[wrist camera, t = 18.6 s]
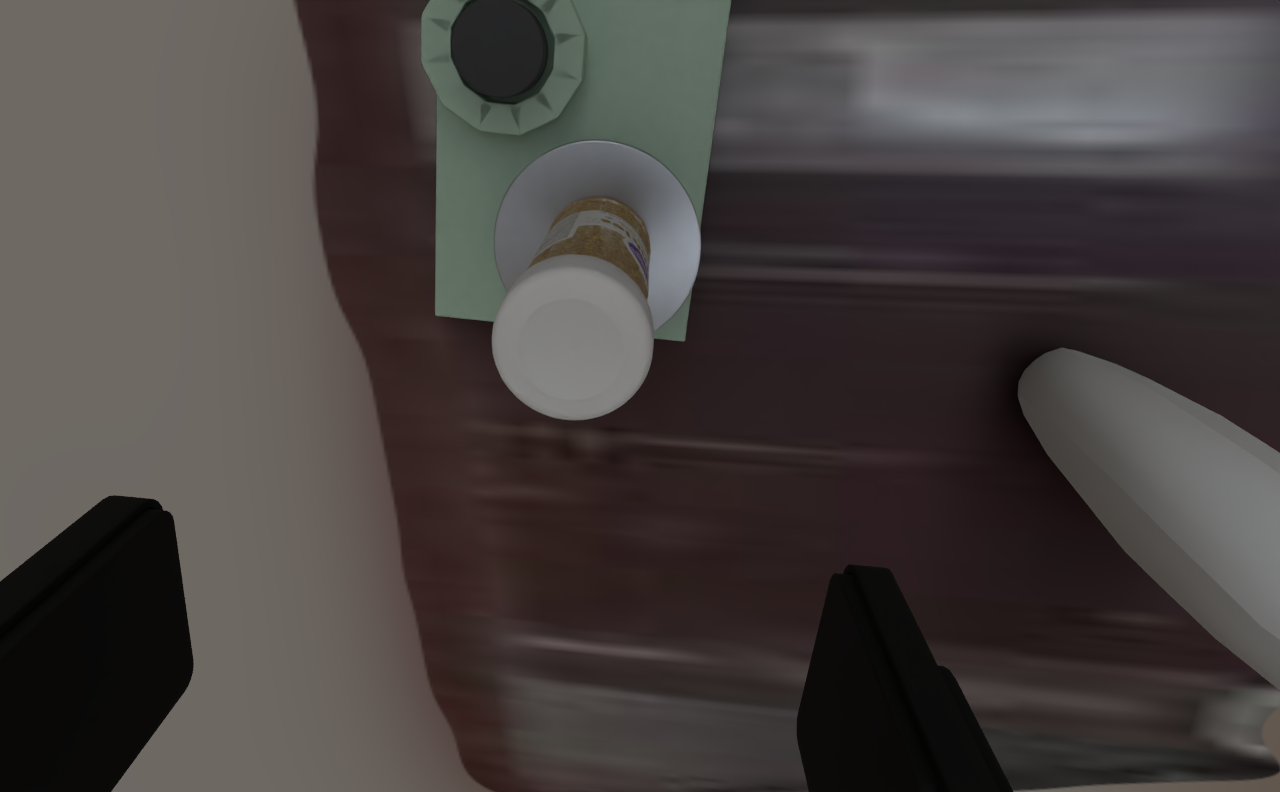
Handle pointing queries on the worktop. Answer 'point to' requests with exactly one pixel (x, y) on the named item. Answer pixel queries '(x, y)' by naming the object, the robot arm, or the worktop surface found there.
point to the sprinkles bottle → (579, 315)
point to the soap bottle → (1170, 492)
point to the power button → (499, 47)
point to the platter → (614, 177)
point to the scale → (568, 120)
